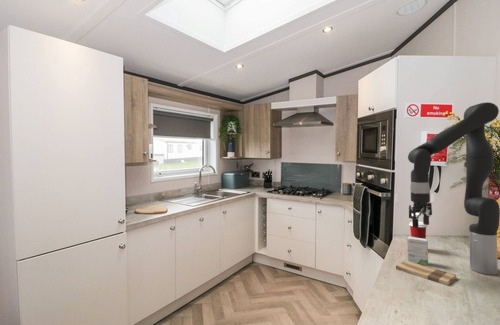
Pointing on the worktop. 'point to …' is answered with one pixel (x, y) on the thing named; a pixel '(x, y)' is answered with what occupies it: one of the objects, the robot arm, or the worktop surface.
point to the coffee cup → (418, 230)
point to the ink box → (417, 250)
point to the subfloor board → (426, 272)
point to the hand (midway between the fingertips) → (420, 226)
